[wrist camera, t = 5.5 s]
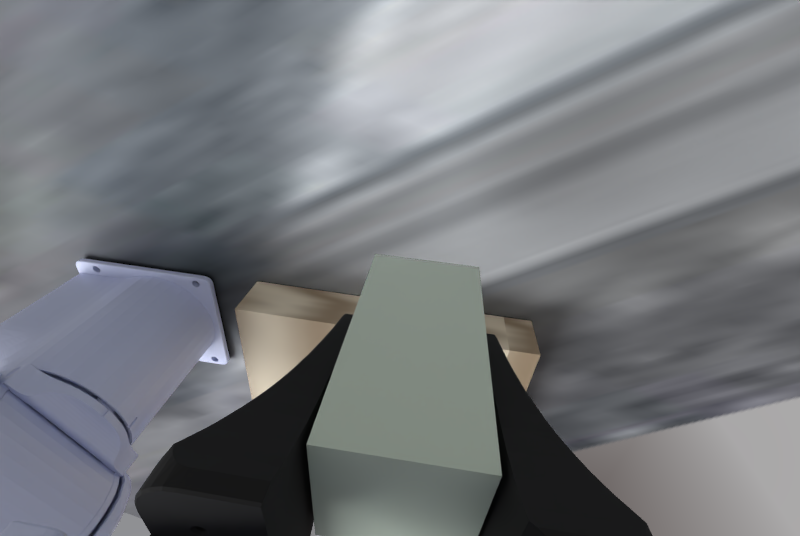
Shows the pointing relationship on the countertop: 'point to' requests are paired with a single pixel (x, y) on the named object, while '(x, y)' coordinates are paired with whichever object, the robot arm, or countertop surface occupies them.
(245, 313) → the socket rail
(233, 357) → the countertop surface
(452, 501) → the square peg
